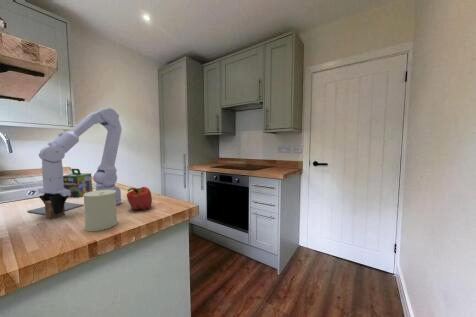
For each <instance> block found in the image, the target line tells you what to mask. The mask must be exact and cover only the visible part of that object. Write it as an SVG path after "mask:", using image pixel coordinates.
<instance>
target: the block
mask: <svg viewBox="0 0 476 317" xmlns="http://www.w3.org/2000/svg"><path fill="white" fill-rule="evenodd" d="M44 207H45V212H46V215H45V218H46V219H50V220H53V219H56V218H59V217H61V216H64V215H66V211H65V207H63V211H62V213H59V214H55V213H54V210H53V205H52V203H51V201H50V200H48V201H45V204H44Z"/></svg>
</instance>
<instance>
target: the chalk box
mask: <svg viewBox="0 0 476 317" xmlns="http://www.w3.org/2000/svg"><path fill="white" fill-rule="evenodd" d="M75 171H76V172H75ZM92 179H93V178H92V173H90V172H89V173H88V172H87V173H86V172H85V173H82V172H81V170H80V169H79V168H71V173H70V174H65V175H63V182H64V188H65V189H67V190H70V195H69V196H68V198H82V197H84V196H83V195H84V194H85V193H88V192H92V191H94V190H93V180H92Z"/></svg>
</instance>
